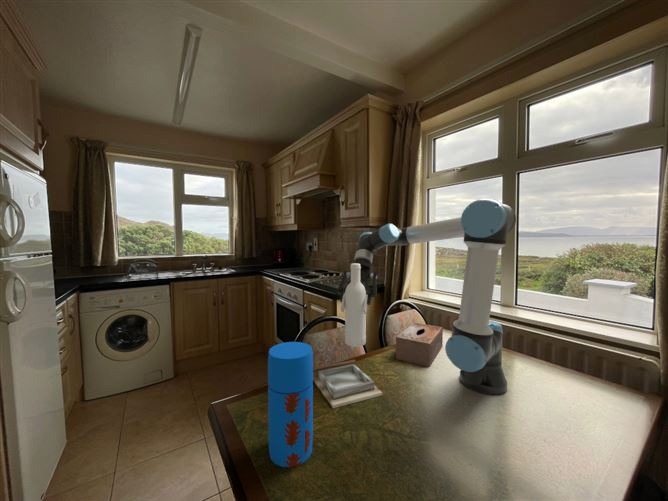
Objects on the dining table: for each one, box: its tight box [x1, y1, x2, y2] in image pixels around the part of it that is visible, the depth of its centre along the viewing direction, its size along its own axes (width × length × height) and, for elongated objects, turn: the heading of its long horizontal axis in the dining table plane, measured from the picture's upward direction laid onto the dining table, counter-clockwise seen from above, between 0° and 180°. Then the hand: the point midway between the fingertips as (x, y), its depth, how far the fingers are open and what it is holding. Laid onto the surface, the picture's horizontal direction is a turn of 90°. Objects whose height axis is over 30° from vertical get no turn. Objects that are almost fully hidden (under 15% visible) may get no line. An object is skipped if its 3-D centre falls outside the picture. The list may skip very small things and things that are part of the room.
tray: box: [313, 359, 383, 409], centre depth 95 cm, size 20×18×4 cm
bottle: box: [344, 262, 367, 348], centre depth 100 cm, size 8×8×30 cm
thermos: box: [267, 341, 314, 468], centre depth 66 cm, size 11×11×25 cm
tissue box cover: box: [395, 322, 444, 368], centre depth 125 cm, size 26×14×10 cm, turn 147°
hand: (353, 310), depth 97 cm, fingers closed on bottle, 8 cm apart
